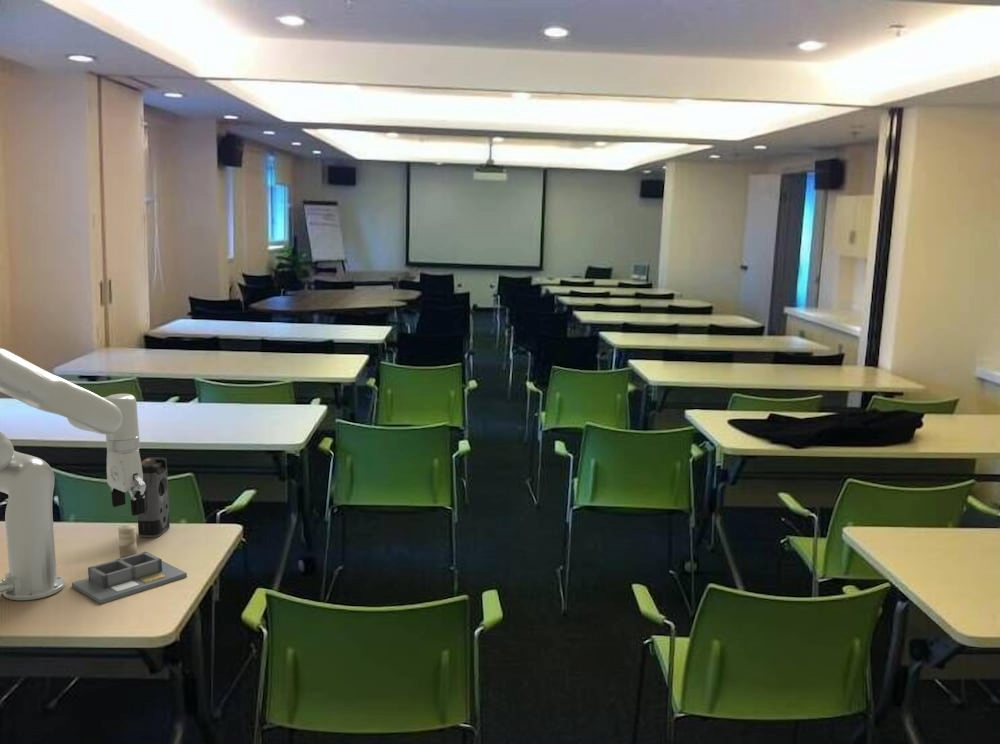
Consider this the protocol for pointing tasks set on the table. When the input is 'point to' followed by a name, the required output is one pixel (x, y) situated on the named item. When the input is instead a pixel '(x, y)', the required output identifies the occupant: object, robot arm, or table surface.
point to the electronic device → (154, 498)
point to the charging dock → (126, 577)
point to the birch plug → (127, 541)
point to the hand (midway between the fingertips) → (128, 509)
